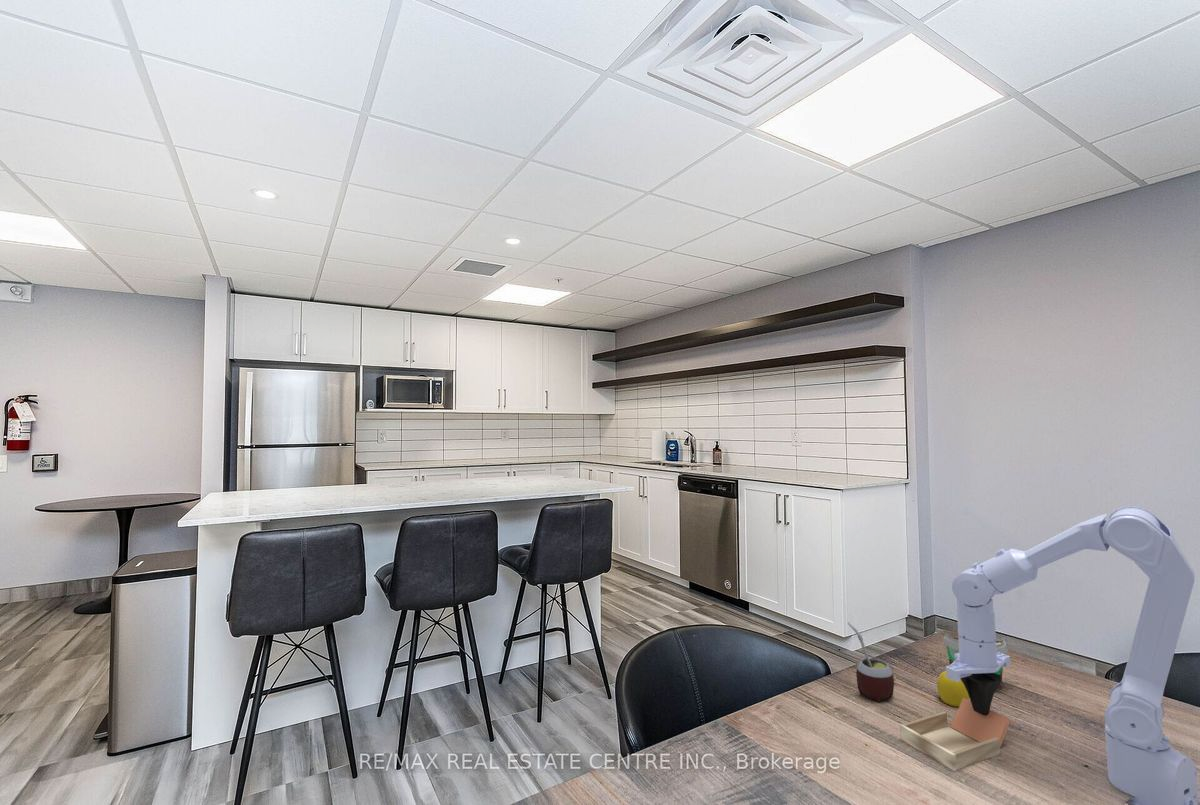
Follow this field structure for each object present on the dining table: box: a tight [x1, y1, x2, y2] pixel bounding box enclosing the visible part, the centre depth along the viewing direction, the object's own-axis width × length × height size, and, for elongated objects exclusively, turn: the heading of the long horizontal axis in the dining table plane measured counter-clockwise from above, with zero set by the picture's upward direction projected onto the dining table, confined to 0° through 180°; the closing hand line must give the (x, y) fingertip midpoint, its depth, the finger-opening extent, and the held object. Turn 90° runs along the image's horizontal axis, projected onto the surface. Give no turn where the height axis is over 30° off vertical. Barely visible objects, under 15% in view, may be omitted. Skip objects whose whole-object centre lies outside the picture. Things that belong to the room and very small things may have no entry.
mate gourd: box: [847, 622, 895, 703], centre depth 116 cm, size 8×8×15 cm
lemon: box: [936, 670, 970, 708], centre depth 111 cm, size 6×6×8 cm
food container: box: [942, 633, 1008, 691], centre depth 120 cm, size 12×6×10 cm, turn 73°
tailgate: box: [950, 698, 1012, 748], centre depth 100 cm, size 1×8×6 cm
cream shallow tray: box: [899, 710, 1001, 772], centre depth 96 cm, size 10×11×4 cm
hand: (980, 712), depth 100 cm, fingers closed
